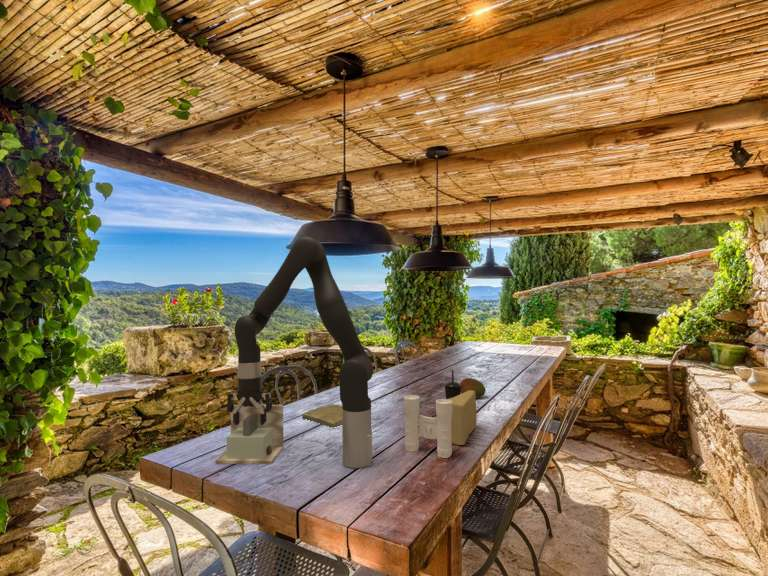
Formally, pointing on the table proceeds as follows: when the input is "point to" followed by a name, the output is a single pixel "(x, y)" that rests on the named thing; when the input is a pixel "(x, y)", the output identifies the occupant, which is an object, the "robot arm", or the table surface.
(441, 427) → the binoculars
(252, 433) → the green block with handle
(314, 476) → the table surface
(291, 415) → the table surface
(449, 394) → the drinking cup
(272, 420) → the wooden stand
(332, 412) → the decorative tile
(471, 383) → the fruit
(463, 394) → the cheese
